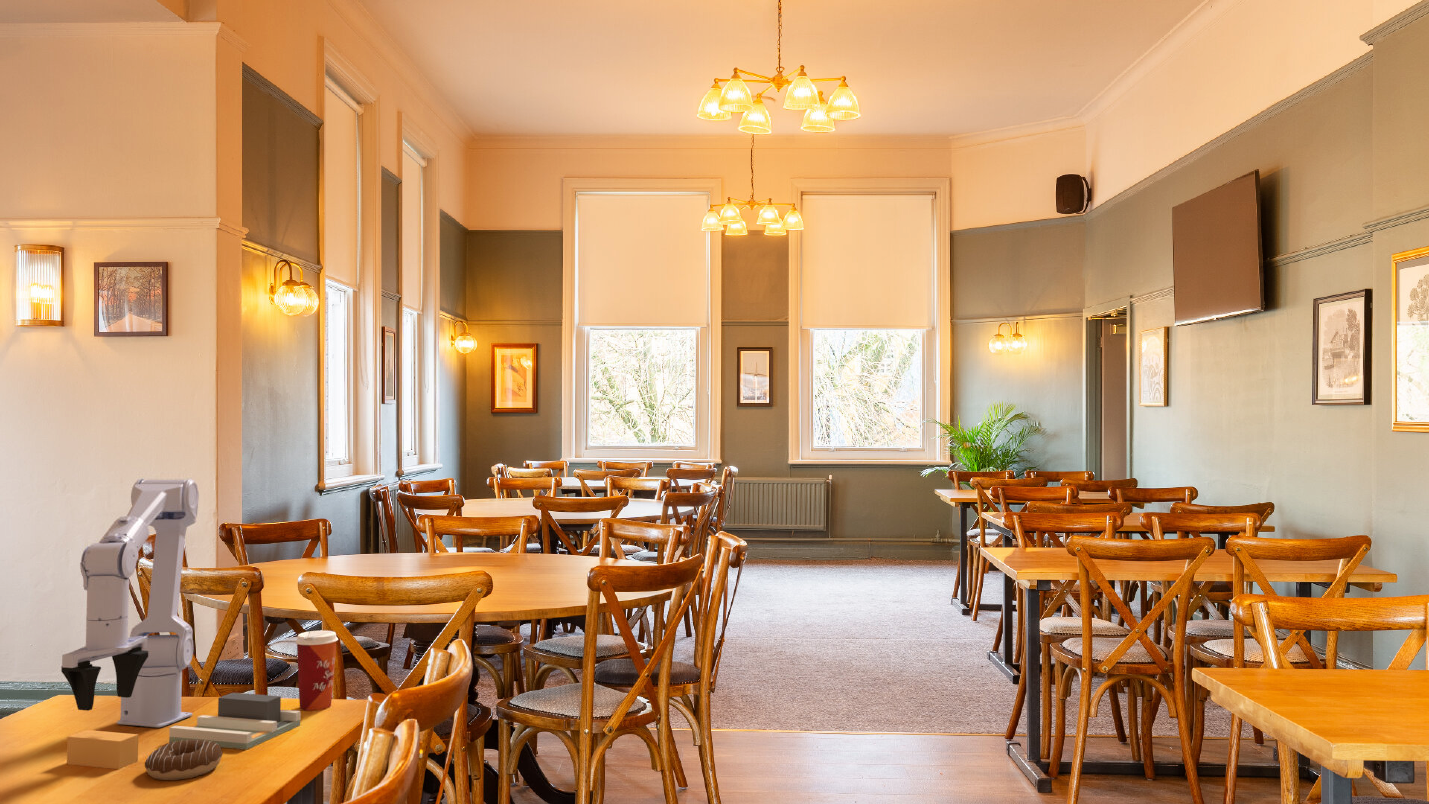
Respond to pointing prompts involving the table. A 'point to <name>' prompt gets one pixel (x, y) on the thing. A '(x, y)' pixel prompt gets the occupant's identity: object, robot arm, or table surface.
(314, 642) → the paper cup
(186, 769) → the donut
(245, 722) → the comb board
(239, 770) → the table surface
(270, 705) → the dark grey block
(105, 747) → the wooden block
